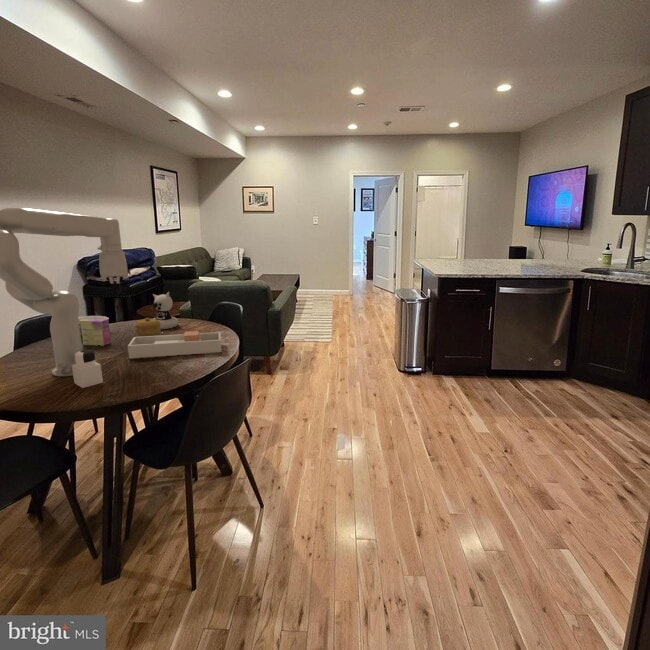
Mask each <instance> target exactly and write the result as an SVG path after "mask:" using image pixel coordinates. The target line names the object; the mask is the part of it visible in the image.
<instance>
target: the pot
mask: <svg viewBox="0 0 650 650" xmlns="http://www.w3.org/2000/svg"><path fill="white" fill-rule="evenodd" d="M135 328H136V330H135V333H136V334H137V337H143V336H160V335H161V334H160V333H161V331H162V329H161V328H160V322H159V321H158V320H157V319H153V318H150V317H146V318H143V319H140V320H138V321H136V323H135ZM159 334H160V335H159Z"/></svg>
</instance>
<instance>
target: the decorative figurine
mask: <svg viewBox="0 0 650 650" xmlns="http://www.w3.org/2000/svg"><path fill="white" fill-rule="evenodd" d="M152 296H153V298H154V301H153V304H152V306H153V308H155V310H157V312H156V315H155V317H154V318H152V319H157V320H158V321H159V322H160V328H161V330H169V328H170V329H173V327H174V328H175V327H177V326H178V325H179V320H178V319H177V318H176V317H175V316H172V315H171V313H170V310H171V309H172V308H173V306H174V305H173V299H172V297H171V296H170V291H168V292H167V293H166V294H164V293H163V294H159V295H156V294H154V293H152Z"/></svg>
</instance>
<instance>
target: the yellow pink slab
mask: <svg viewBox="0 0 650 650" xmlns="http://www.w3.org/2000/svg"><path fill="white" fill-rule="evenodd" d="M87 318H91V319H108V320H109V319H110V318H109V317H107V316H102V315H86V316H79V328H80V334H81V336H82V330H81V322H80V321H81V320H84V319H87Z"/></svg>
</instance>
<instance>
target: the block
mask: <svg viewBox="0 0 650 650" xmlns="http://www.w3.org/2000/svg"><path fill="white" fill-rule="evenodd" d="M199 333H200V331H199V330H193V331H184V333H183V334H184V342H189V341H199Z"/></svg>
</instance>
